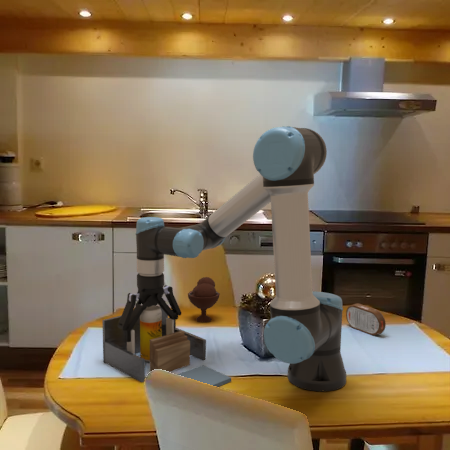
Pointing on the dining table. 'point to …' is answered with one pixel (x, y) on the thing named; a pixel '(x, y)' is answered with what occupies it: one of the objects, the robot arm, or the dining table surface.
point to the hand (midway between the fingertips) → (151, 346)
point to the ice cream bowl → (204, 297)
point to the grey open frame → (138, 347)
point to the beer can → (149, 329)
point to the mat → (207, 376)
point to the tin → (365, 319)
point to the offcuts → (170, 352)
